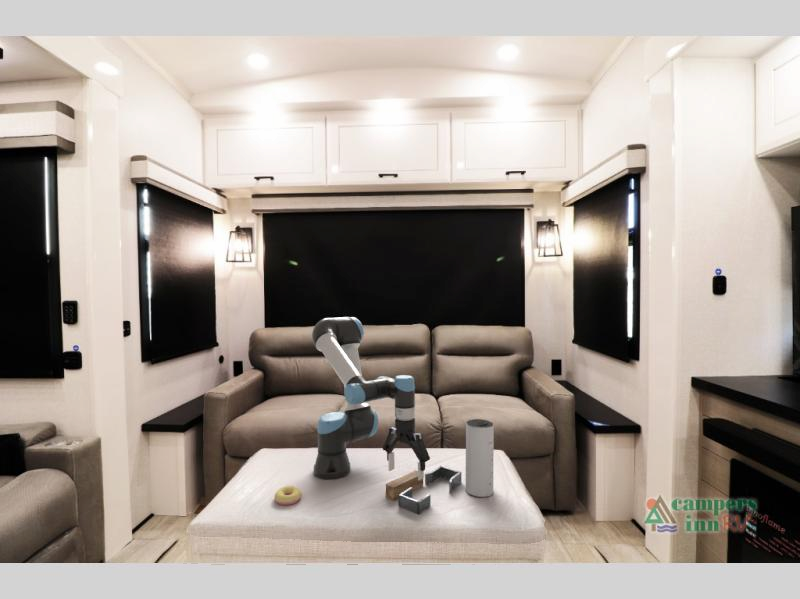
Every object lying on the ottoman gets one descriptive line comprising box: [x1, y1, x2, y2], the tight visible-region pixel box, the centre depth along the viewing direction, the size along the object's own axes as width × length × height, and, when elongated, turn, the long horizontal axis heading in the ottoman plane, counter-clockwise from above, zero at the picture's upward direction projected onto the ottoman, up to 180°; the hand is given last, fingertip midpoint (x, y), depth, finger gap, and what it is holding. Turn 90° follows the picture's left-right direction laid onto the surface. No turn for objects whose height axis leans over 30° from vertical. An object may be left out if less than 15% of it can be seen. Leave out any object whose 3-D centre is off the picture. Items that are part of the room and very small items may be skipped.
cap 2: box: [424, 465, 462, 494], centre depth 158 cm, size 12×10×4 cm
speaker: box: [465, 418, 495, 498], centre depth 153 cm, size 11×10×26 cm
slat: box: [385, 469, 424, 501], centre depth 153 cm, size 4×16×5 cm, turn 135°
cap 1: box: [398, 487, 431, 515], centre depth 142 cm, size 9×7×4 cm
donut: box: [274, 485, 303, 506], centre depth 147 cm, size 10×5×9 cm
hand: (405, 474), depth 152 cm, fingers open, 13 cm apart
